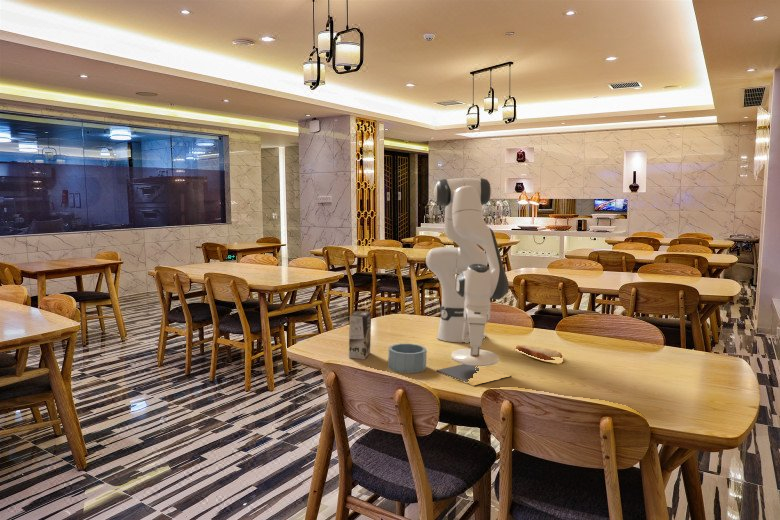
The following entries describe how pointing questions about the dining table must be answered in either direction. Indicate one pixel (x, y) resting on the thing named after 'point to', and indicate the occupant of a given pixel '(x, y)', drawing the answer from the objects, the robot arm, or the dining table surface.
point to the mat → (460, 372)
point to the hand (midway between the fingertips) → (474, 352)
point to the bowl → (407, 358)
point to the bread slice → (539, 352)
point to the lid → (474, 357)
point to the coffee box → (360, 334)
